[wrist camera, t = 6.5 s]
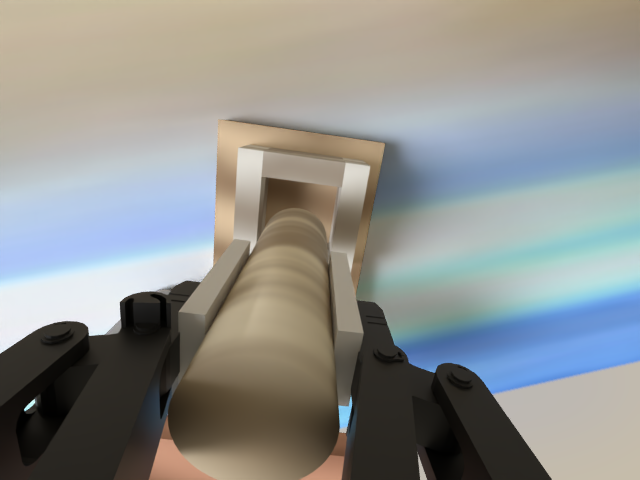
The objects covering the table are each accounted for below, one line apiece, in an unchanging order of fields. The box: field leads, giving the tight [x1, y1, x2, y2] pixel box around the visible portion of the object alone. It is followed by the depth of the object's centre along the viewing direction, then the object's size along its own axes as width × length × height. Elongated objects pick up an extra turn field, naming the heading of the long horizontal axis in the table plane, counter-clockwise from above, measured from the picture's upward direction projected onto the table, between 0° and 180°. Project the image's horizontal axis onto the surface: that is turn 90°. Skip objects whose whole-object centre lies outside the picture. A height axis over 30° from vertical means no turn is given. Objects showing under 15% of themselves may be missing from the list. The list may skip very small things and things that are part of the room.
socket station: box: [149, 120, 385, 480], centre depth 22 cm, size 22×13×18 cm, turn 172°
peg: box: [168, 208, 340, 480], centre depth 14 cm, size 4×4×14 cm
